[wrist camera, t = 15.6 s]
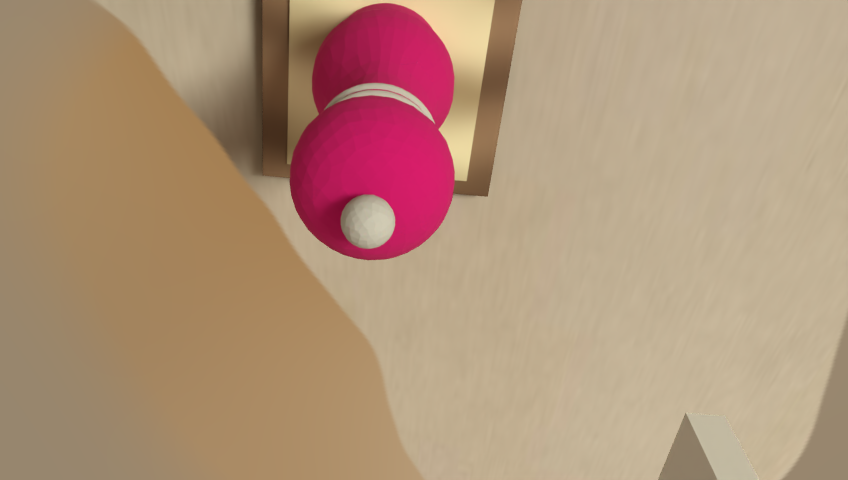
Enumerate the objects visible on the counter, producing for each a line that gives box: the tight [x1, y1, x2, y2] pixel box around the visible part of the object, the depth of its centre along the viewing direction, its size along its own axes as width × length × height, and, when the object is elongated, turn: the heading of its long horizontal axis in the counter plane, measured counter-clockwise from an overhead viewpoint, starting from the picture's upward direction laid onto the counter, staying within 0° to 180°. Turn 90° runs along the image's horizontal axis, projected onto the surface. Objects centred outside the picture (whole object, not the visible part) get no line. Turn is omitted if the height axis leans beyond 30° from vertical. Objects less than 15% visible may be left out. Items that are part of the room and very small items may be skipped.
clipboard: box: [262, 0, 522, 197], centre depth 39 cm, size 16×14×2 cm
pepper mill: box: [290, 3, 455, 260], centre depth 31 cm, size 7×7×20 cm
